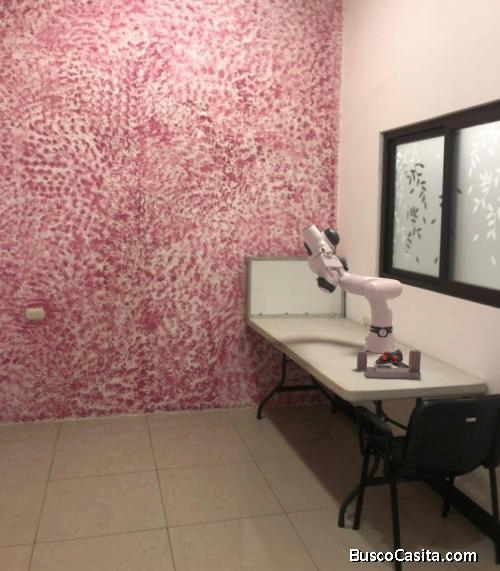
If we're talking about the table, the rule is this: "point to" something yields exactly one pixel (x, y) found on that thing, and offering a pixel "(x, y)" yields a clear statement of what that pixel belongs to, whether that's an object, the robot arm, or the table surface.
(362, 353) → the block
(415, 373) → the grey base with post
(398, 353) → the valve
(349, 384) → the table surface
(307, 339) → the table surface
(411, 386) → the table surface
